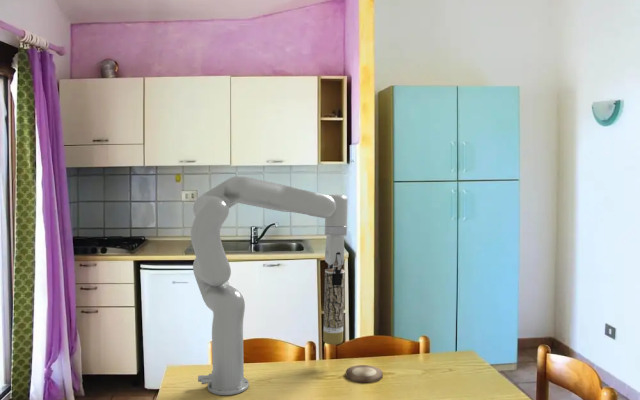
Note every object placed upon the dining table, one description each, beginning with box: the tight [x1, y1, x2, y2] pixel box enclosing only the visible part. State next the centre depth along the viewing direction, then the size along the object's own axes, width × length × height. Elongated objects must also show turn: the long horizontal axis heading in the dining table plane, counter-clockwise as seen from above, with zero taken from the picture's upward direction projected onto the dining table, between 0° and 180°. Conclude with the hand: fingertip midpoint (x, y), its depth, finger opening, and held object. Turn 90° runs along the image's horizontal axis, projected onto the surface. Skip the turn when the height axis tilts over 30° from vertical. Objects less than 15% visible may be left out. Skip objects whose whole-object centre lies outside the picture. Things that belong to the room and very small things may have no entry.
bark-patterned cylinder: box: [322, 268, 346, 346], centre depth 182 cm, size 7×7×25 cm
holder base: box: [345, 364, 383, 384], centre depth 174 cm, size 12×12×1 cm
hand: (334, 282), depth 182 cm, fingers closed on bark-patterned cylinder, 6 cm apart
